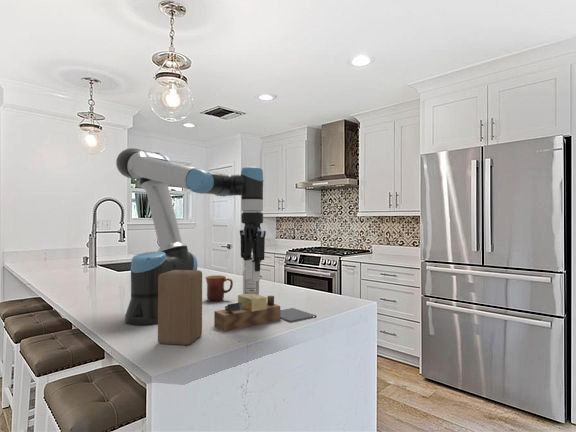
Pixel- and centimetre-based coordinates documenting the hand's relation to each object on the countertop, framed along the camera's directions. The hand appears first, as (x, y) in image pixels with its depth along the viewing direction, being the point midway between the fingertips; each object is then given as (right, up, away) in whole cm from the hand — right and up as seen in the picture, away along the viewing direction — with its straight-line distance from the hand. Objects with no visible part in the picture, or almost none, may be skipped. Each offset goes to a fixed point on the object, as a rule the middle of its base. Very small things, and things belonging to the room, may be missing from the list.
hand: (252, 279), depth 128 cm
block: (-19, -15, -18) cm, 30 cm away
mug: (-18, -15, +34) cm, 41 cm away
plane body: (-1, -15, -1) cm, 15 cm away
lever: (-7, -8, -5) cm, 12 cm away
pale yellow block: (0, -10, 0) cm, 10 cm away
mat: (+14, -15, +9) cm, 22 cm away
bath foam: (-4, -15, +36) cm, 39 cm away
